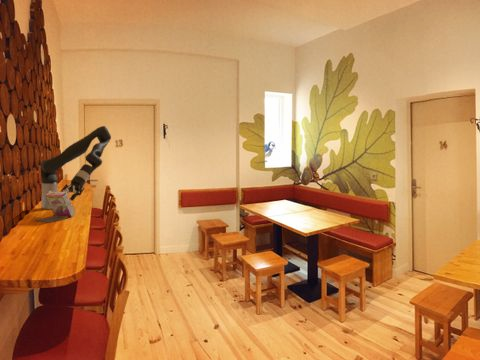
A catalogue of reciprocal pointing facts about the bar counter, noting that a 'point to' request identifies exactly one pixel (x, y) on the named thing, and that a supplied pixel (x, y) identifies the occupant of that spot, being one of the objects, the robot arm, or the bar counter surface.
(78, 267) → the bar counter surface
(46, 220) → the mat
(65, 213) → the candy bar box
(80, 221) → the bar counter surface
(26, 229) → the bar counter surface
